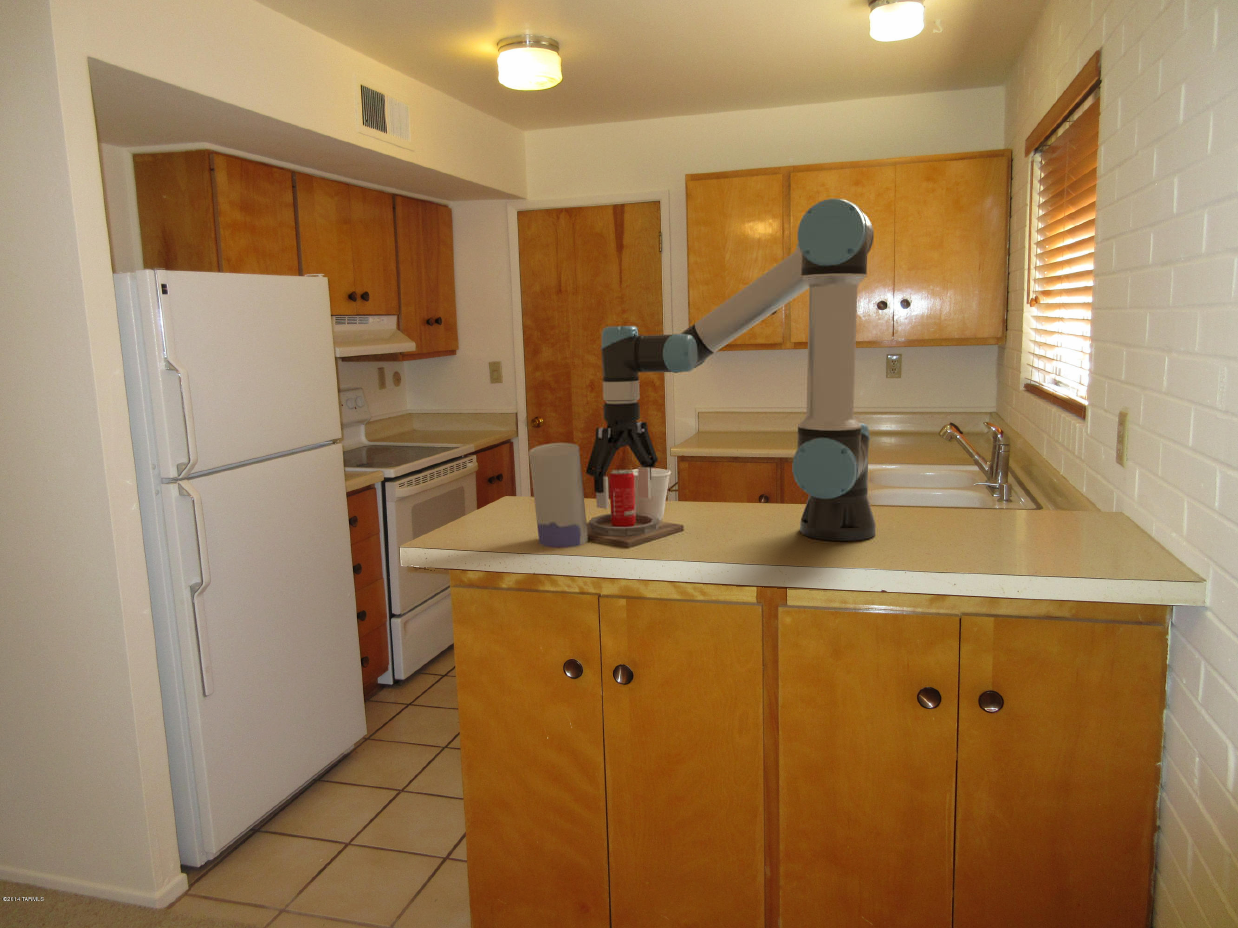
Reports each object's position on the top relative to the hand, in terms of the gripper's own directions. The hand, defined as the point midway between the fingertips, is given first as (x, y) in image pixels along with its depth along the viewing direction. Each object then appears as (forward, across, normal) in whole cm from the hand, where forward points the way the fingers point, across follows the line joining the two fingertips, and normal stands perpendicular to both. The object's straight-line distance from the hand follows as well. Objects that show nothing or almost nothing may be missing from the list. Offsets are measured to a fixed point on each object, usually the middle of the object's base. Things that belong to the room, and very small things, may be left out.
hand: (624, 502), depth 179 cm
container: (+7, +12, -6) cm, 15 cm away
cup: (+7, -13, -4) cm, 15 cm away
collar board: (+7, 0, 0) cm, 7 cm away
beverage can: (+6, 0, 0) cm, 6 cm away
